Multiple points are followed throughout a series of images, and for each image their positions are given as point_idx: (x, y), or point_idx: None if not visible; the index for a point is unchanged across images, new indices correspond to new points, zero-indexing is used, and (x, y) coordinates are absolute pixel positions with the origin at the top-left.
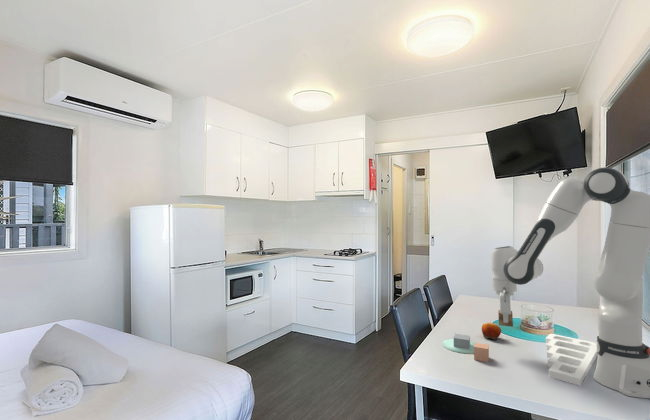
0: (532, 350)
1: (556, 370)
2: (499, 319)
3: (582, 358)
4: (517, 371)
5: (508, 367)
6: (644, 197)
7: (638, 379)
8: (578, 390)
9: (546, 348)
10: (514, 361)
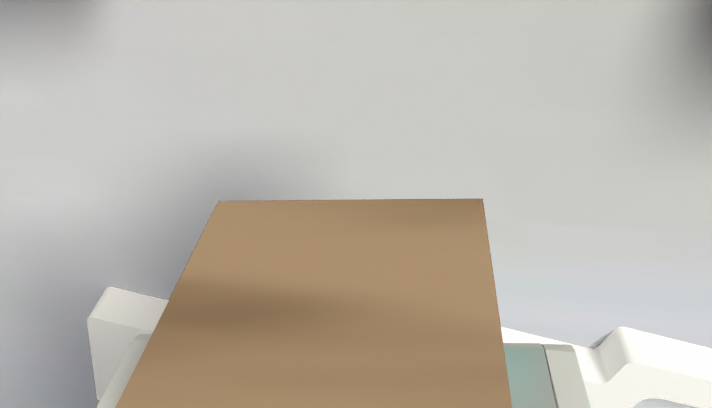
0: (569, 253)
1: (119, 344)
2: (182, 300)
3: None
4: (18, 144)
5: (34, 87)
6: None
7: None
8: (48, 358)
9: (621, 337)
10: (206, 129)
